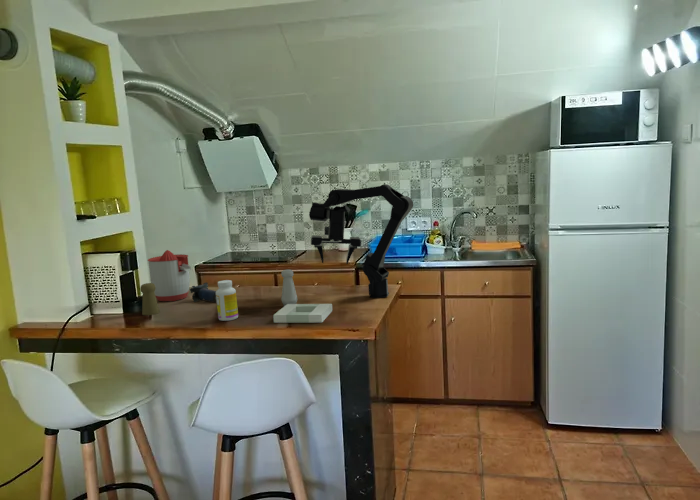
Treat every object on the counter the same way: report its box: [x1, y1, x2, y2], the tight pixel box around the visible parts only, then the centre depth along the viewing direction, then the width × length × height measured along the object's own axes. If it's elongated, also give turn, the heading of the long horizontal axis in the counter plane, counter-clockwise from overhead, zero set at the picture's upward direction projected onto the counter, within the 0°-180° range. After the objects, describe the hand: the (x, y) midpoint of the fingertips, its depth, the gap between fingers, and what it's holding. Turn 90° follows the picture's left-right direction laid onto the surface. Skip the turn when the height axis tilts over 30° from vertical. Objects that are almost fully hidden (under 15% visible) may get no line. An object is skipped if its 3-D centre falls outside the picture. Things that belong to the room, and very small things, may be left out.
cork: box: [139, 282, 160, 316], centre depth 199 cm, size 6×6×11 cm
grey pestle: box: [280, 269, 298, 307], centre depth 198 cm, size 6×6×13 cm
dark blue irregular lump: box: [189, 281, 217, 304], centre depth 214 cm, size 9×8×12 cm
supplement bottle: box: [215, 279, 239, 322], centre depth 184 cm, size 7×7×13 cm
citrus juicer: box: [147, 249, 192, 302], centre depth 221 cm, size 16×17×20 cm
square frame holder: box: [272, 303, 333, 324], centre depth 182 cm, size 16×14×2 cm
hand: (334, 263), depth 209 cm, fingers open, 9 cm apart
